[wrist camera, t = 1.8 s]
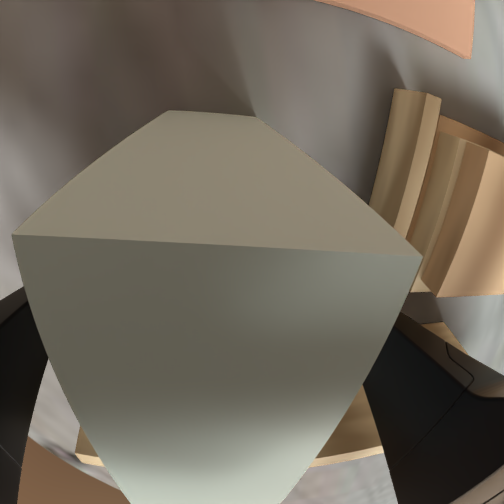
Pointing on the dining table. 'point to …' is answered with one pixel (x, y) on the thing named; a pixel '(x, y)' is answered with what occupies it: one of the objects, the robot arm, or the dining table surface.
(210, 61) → the dining table surface
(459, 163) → the offcut middle
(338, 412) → the tall pale grey block
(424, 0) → the mat
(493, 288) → the offcut top
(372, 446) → the rack
